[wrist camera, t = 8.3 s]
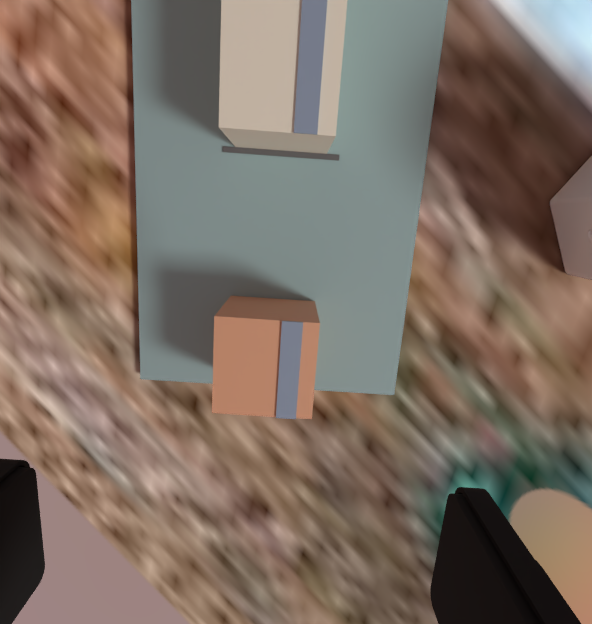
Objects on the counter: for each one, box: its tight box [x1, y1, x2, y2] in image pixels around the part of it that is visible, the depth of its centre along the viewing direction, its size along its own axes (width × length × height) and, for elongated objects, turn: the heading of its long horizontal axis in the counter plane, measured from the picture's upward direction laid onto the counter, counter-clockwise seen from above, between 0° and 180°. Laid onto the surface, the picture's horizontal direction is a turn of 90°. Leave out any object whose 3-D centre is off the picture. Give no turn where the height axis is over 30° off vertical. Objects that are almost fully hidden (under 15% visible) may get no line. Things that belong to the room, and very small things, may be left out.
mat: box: [131, 0, 448, 395], centre depth 22 cm, size 26×16×1 cm, turn 176°
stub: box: [212, 296, 320, 419], centre depth 22 cm, size 5×5×5 cm
